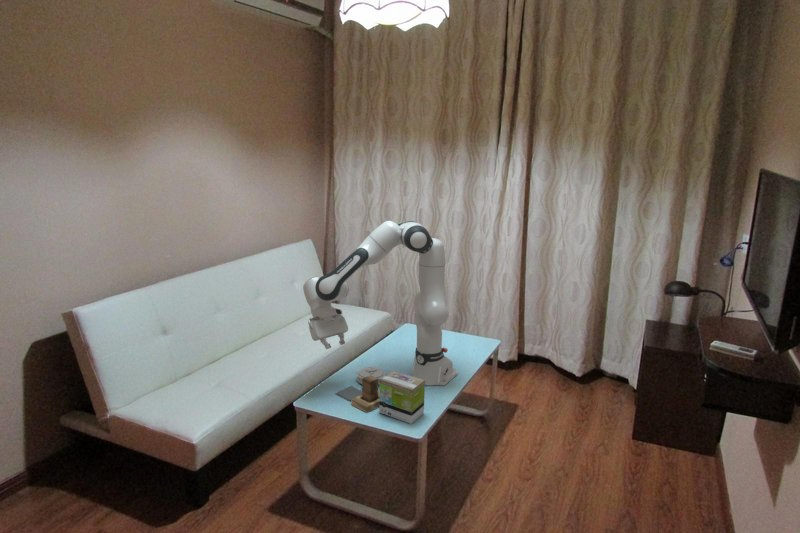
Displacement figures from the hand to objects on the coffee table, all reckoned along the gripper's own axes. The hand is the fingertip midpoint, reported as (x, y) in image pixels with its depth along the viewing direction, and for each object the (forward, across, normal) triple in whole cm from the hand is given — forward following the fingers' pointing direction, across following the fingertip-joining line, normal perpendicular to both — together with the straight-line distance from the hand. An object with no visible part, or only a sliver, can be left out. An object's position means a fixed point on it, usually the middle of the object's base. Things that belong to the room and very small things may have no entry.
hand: (335, 346), depth 214 cm
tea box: (+35, +4, -15) cm, 38 cm away
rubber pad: (+20, +6, +6) cm, 22 cm away
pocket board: (+26, +3, -3) cm, 27 cm away
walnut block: (+26, +3, -3) cm, 27 cm away
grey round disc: (+19, +21, +6) cm, 28 cm away
